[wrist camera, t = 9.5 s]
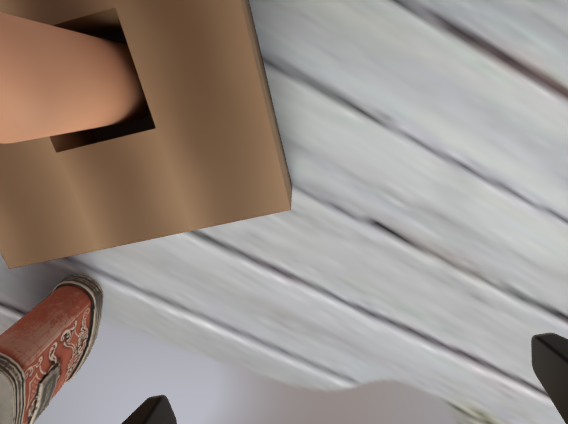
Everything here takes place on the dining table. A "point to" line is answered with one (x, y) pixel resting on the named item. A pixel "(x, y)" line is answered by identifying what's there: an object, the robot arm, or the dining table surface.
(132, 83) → the peg
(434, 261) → the dining table surface
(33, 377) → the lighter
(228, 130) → the bore block
